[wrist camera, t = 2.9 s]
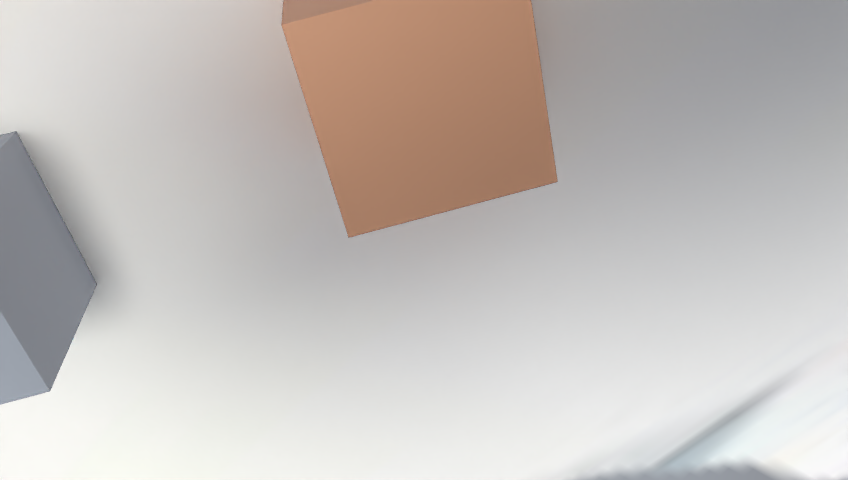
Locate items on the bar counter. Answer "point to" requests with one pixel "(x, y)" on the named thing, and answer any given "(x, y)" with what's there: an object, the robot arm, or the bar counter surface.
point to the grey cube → (35, 279)
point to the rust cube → (421, 103)
